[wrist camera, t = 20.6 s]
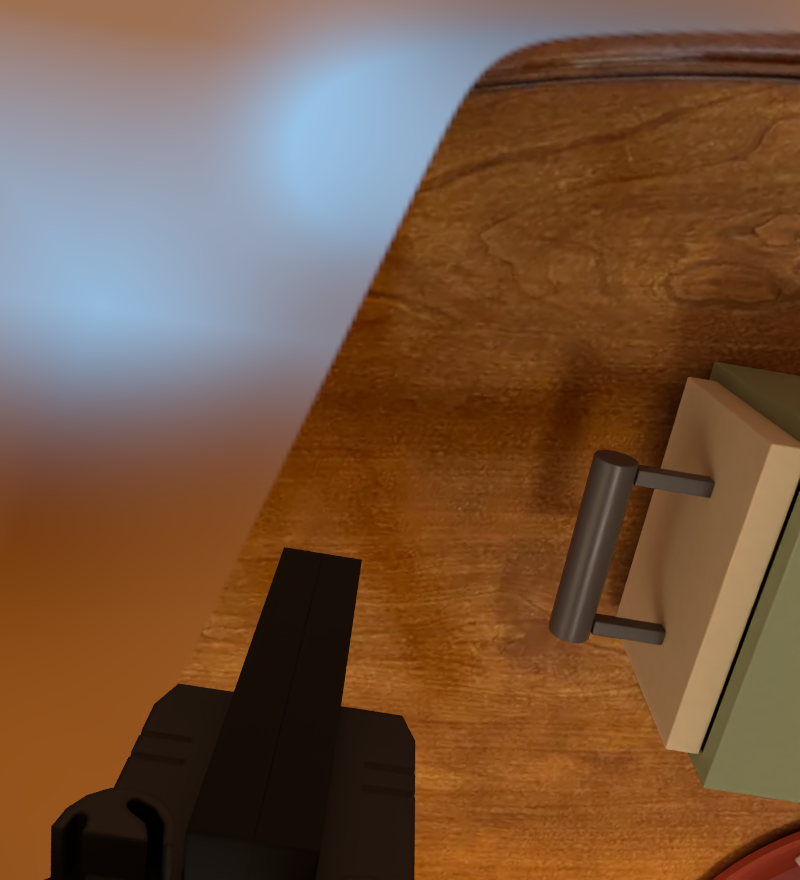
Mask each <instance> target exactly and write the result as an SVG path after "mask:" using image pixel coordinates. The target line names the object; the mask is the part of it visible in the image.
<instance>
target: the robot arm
mask: <svg viewBox="0 0 800 880" xmlns="http://www.w3.org/2000/svg"><path fill="white" fill-rule="evenodd" d="M361 561H362V560H360V559H354V558H347V557H341V556H335V555H329V554H323V553H316V552H310V551H304V550H298V549H291V548H285V547H284V549H283V552H282V555H281V558H280V561H279V564H278V567H277V570H276V572H275V575H274V578H273V581H272V584H271V587H270V590H269V593H268V596H267V598H266V601H265V604H264V607H263V610H262V613H261V616H260V619H259V621H258V624H257V627H256V630H255V633H254V636H253V639H252V642H251V645H250V647H249V650H248V653H247V656H246V659H245V662H244V665H243V668H242V670H241V673H240V676H239V679H238V682H237V685H236V688H235V691H234V692H230V691H223V690H217V689H210V688H204V687H197V686H191V685H184V684H178V685H176V686H175V687H174V688H173V689H172V690H170V691H169V692H168V693H167V694H166V695H165V696H164V697H162V698H161V699H160V700H159V701H158V702H156V703H155V704H154V706H153V708H152V710H151V712H150V714H149V716H148V718H147V720H146V723H145V725H144V727H143V729H142V732H141V735H139V737H138V739H137V741H136V743H135V745H134V747H133V749H132V751H131V756H130V757H129V758H128V759H127V762H126V764H125V766H124V768H123V770H122V772H121V774H120V776H119V778H118V780H117V782H116V784H115V787H114V788H109V789H106V790H102V791H99V792H96V793H93V794H89V795H86V796H85V797H83V798H82V799H80V800H79V801H77V802H75V803H74V804H73V805H71V806H69V807H68V808H66V809H65V811H64V812H63V813H62V814H61V815H60V817H59V818H58V819H57V820H56V822H55V823H54V824H53V825H52V827H51V828H52V829H51V877H50V878H48V879H45V880H414V853H415V797H414V794H415V774H414V772H415V740H414V738H413V736H412V734H411V732H410V730H409V728H408V726H407V724H406V722H405V720H404V718H403V716H401V715H394V714H388V713H381V712H374V711H368V710H361V709H355V708H348V707H342V706H341V702H342V695H343V688H344V681H345V674H346V667H347V660H348V653H349V646H350V639H351V632H352V624H353V617H354V610H355V603H356V596H357V589H358V582H359V575H360V568H361Z"/></svg>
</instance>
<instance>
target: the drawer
mask: <svg viewBox="0 0 800 880" xmlns="http://www.w3.org/2000/svg"><path fill="white" fill-rule="evenodd" d="M633 483H634V485H635V486H640V487H646V488H652V489H654V492H653V495H652V499H651V502H650V505H649V509H648V512H647V515H646V519H645V522H644V525H643V529H642V532H641V535H640V539H639V542H638V545H637V549H636V552H635V555H634V559H633V562H632V565H631V569H630V572H629V575H628V579H627V582H626V585H625V589H624V592H623V595H622V598H621V602H620V605H619V608H618V612H617V615H616V617H614V616H608V615H602V614H596V611H597V608H598V604H599V601H600V597H601V594H602V590H603V587H604V583H605V580H606V576H607V573H608V570H609V566H610V563H611V559H612V556H613V552H614V549H615V545H616V542H617V538H618V535H619V532H620V528H621V525H622V521H623V518H624V514H625V511H626V507H627V504H628V500H629V497H630V494H631V490H632V487H633ZM799 492H800V442H799V441H797V440H796V439H795V438H793V437H792V436H791V435H789V434H788V433H786V432H785V431H784V430H782V429H781V428H780V427H778V426H777V425H776V424H774V423H773V422H771V421H770V420H769V419H767V418H766V417H765V416H763V415H762V414H761V413H759V412H758V411H756V410H755V409H754V408H752V407H751V406H750V405H748V404H747V403H746V402H744V401H743V400H741V399H740V398H739V397H737V396H736V395H735V394H733V393H732V392H731V391H729V390H728V389H726V388H725V387H724V386H722V385H721V384H720V383H718V382H717V381H712V380H706V379H700V378H694V377H688V379H687V382H686V385H685V389H684V392H683V395H682V399H681V402H680V405H679V409H678V412H677V415H676V419H675V422H674V425H673V429H672V432H671V435H670V439H669V442H668V445H667V449H666V452H665V455H664V459H663V462H662V465H661V468H655V467H649V466H643V465H639V464H638V461H637V460H635V459H634V458H632V457H630V456H628V455H626V454H623V453H620V452H616V451H611V450H599V451H596V452H595V454H594V457H593V461H592V464H591V468H590V472H589V476H588V479H587V483H586V487H585V491H584V494H583V498H582V502H581V506H580V509H579V513H578V517H577V521H576V524H575V528H574V532H573V536H572V539H571V543H570V547H569V551H568V554H567V558H566V562H565V566H564V569H563V573H562V577H561V581H560V584H559V588H558V592H557V596H556V599H555V603H554V607H553V611H552V614H551V618H550V622H549V629H550V631H551V632H552V633H553V634H554V635H555V636H556V637H558V638H560V639H562V640H564V641H567V642H571V643H583V642H585V641H587V639H588V638H589V635H590V632H591V633H592V634H594V635H600V636H606V637H612V638H619V639H621V641H622V644H623V646H624V649H625V651H626V653H627V656H628V658H629V661H630V663H631V666H632V668H633V671H634V673H635V675H636V678H637V680H638V683H639V685H640V688H641V690H642V693H643V695H644V697H645V700H646V702H647V705H648V707H649V710H650V712H651V715H652V717H653V719H654V722H655V724H656V727H657V729H658V732H659V734H660V736H661V739H662V741H663V744H664V746H665V748H666V749H669V750H675V751H682V752H688V753H694V754H698V753H699V751H700V749H701V746H702V743H703V740H704V738H705V735H706V732H707V730H708V727H709V724H710V722H711V719H712V716H713V713H714V711H715V708H716V705H717V703H718V700H719V701H720V703H721V702H722V699H723V697H724V694H725V691H726V688H727V686H728V683H729V680H730V678H731V675H732V672H733V670H734V667H735V664H736V662H737V659H738V656H739V653H740V651H741V648H742V645H743V643H744V640H745V637H746V635H747V632H748V629H749V626H750V624H751V621H752V618H753V616H754V611H753V610H752V608H753V605H754V602H755V600H756V597H757V594H758V591H759V589H760V586H761V583H762V581H763V578H764V575H765V572H766V570H767V567H768V564H769V562H770V559H771V556H772V553H773V551H774V548H775V545H776V543H777V540H778V537H779V534H780V532H781V529H782V526H783V524H784V521H785V518H786V515H787V513H788V510H789V507H790V505H791V502H792V499H793V496H794V495H795V496H798V494H799Z"/></svg>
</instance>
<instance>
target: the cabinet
mask: <svg viewBox="0 0 800 880" xmlns="http://www.w3.org/2000/svg"><path fill="white" fill-rule="evenodd" d="M709 380H712V381H717V382H718V383H720V384H721V385H722V386H724V387H725V388H726V389H728V390H729V391H731V392H732V393H733V394H735V395H736V396H737V397H739V398H740V399H741V400H743V401H744V402H746V403H747V404H748V405H750V406H751V407H752V408H754V409H755V410H756V411H758V412H759V413H761V414H762V415H763V416H765V417H766V418H767V419H769V420H770V421H771V422H773V423H774V424H776V425H777V426H778V427H780V428H781V429H782V430H784V431H785V432H786V433H788V434H789V435H791V436H792V437H793V438H795V439H796V440H797V441H799V442H800V376H798V375H792V374H786V373H780V372H775V371H769V370H763V369H757V368H751V367H745V366H739V365H733V364H727V363H721V362H714V365H713V368H712V371H711V375H710V378H709ZM688 754H689V757H690V759H691V761H692V763H693V766H694V768H695V770H696V772H697V775H698V777H699V779H700V781H701V784H702V786H703V787H704V788H708V789H715V790H721V791H727V792H734V793H740V794H746V795H753V796H759V797H765V798H772V799H778V800H784V801H791V802H797V803H800V492H799V494H798V497H797V500H796V502H795V505H794V508H793V511H792V513H791V516H790V519H789V521H788V524H787V527H786V529H785V532H784V535H783V537H782V540H781V543H780V546H779V548H778V551H777V554H776V556H775V559H774V562H773V564H772V567H771V570H770V573H769V575H768V578H767V581H766V583H765V586H764V589H763V591H762V594H761V597H760V600H759V602H758V605H757V608H756V610H755V613H754V616H753V618H752V621H751V624H750V626H749V629H748V632H747V635H746V637H745V640H744V643H743V645H742V648H741V651H740V653H739V656H738V659H737V662H736V664H735V667H734V670H733V672H732V675H731V678H730V680H729V683H728V686H727V688H726V691H725V694H724V697H723V699H722V702H721V703H720V701H719V700H718V703H717V705H716V708H715V711H714V713H713V716H712V719H711V722H710V724H709V727H708V730H707V732H706V735H705V738H704V740H703V743H702V746H701V749H700V751H699V753H698V754H694V753H688Z"/></svg>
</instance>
